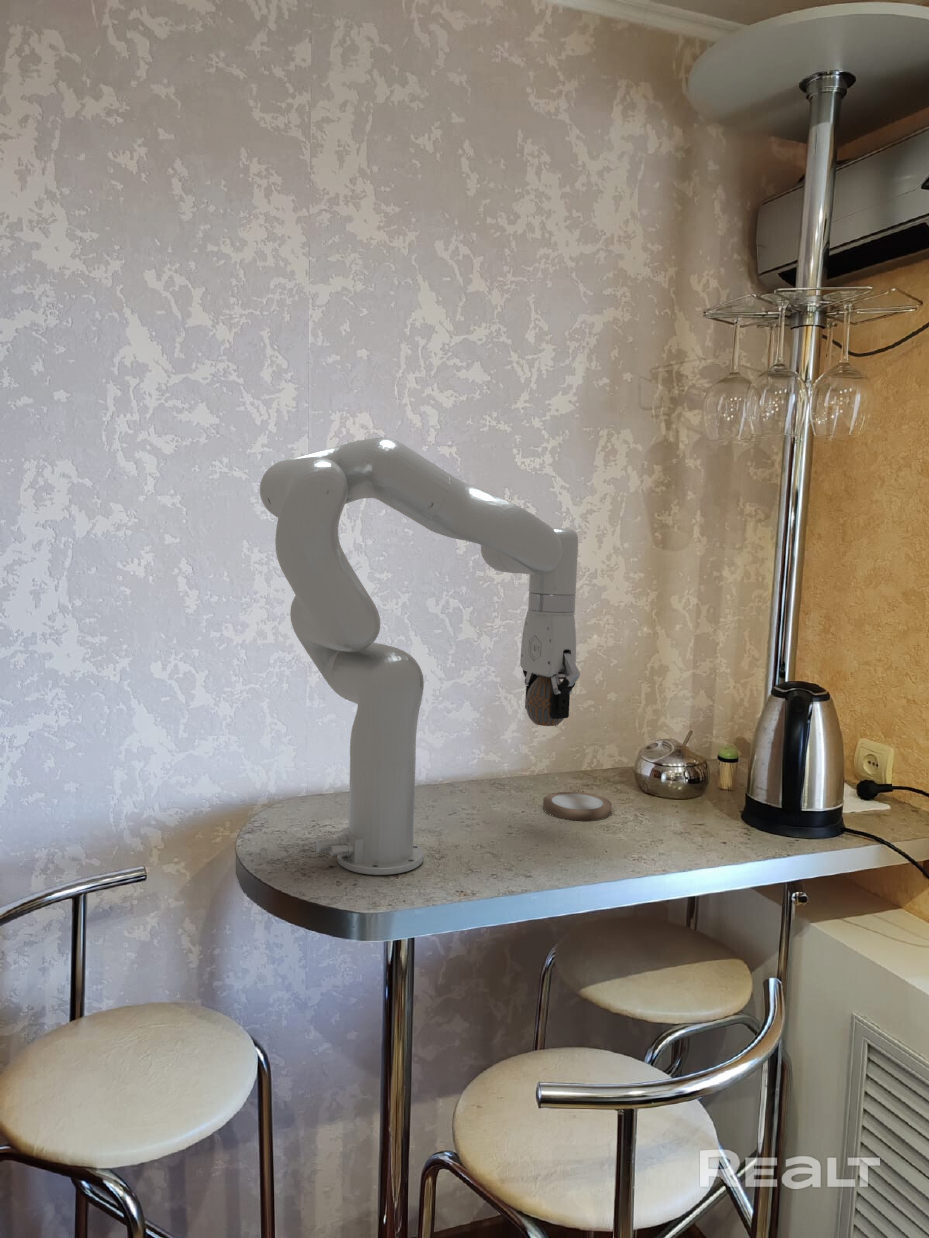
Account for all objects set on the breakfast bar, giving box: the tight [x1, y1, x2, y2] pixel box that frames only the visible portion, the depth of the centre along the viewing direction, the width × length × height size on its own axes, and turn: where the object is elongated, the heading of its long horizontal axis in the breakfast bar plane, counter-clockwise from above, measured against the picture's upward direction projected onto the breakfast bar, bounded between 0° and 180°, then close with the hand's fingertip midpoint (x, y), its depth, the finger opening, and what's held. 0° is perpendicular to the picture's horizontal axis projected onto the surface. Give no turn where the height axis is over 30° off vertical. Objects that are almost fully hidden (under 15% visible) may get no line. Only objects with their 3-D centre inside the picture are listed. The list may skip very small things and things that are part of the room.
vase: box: [525, 675, 565, 727], centre depth 145 cm, size 7×7×9 cm
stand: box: [542, 791, 613, 822], centre depth 157 cm, size 12×12×2 cm
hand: (546, 712), depth 145 cm, fingers closed on vase, 6 cm apart
